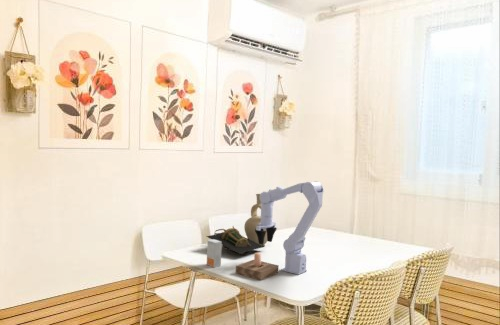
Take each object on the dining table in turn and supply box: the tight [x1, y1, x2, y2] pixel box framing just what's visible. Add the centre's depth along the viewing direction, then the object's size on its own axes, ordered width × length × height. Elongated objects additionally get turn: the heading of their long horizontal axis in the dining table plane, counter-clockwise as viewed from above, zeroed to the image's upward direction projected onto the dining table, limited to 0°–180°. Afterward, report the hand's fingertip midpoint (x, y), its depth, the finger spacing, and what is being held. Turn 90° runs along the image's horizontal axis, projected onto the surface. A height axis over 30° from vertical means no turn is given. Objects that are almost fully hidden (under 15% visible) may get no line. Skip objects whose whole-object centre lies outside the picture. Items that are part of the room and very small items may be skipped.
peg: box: [253, 252, 262, 268], centre depth 181 cm, size 3×3×9 cm
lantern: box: [206, 225, 265, 255], centre depth 220 cm, size 14×23×30 cm
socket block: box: [235, 259, 279, 281], centre depth 181 cm, size 14×14×4 cm
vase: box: [244, 193, 268, 246], centre depth 235 cm, size 17×17×30 cm
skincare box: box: [206, 239, 223, 268], centre depth 190 cm, size 6×4×12 cm
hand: (265, 242), depth 196 cm, fingers open, 7 cm apart
